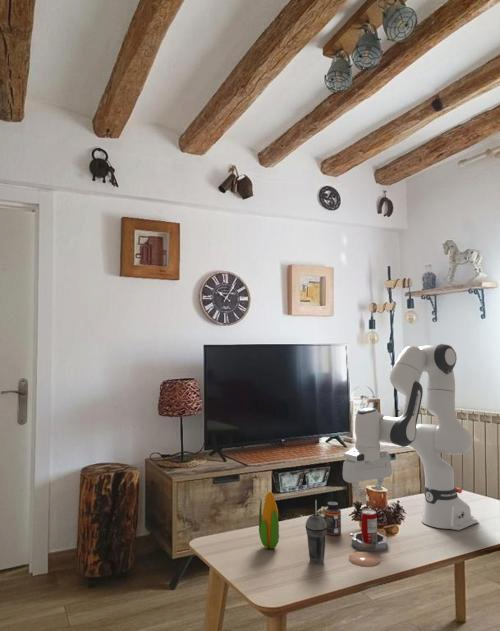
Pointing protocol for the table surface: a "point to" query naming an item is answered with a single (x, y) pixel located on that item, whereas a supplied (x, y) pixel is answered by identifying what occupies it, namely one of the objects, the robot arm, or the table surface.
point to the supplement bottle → (333, 519)
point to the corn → (269, 522)
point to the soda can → (369, 526)
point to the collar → (369, 546)
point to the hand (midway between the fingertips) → (368, 491)
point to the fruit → (322, 511)
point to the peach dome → (364, 559)
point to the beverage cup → (316, 537)
